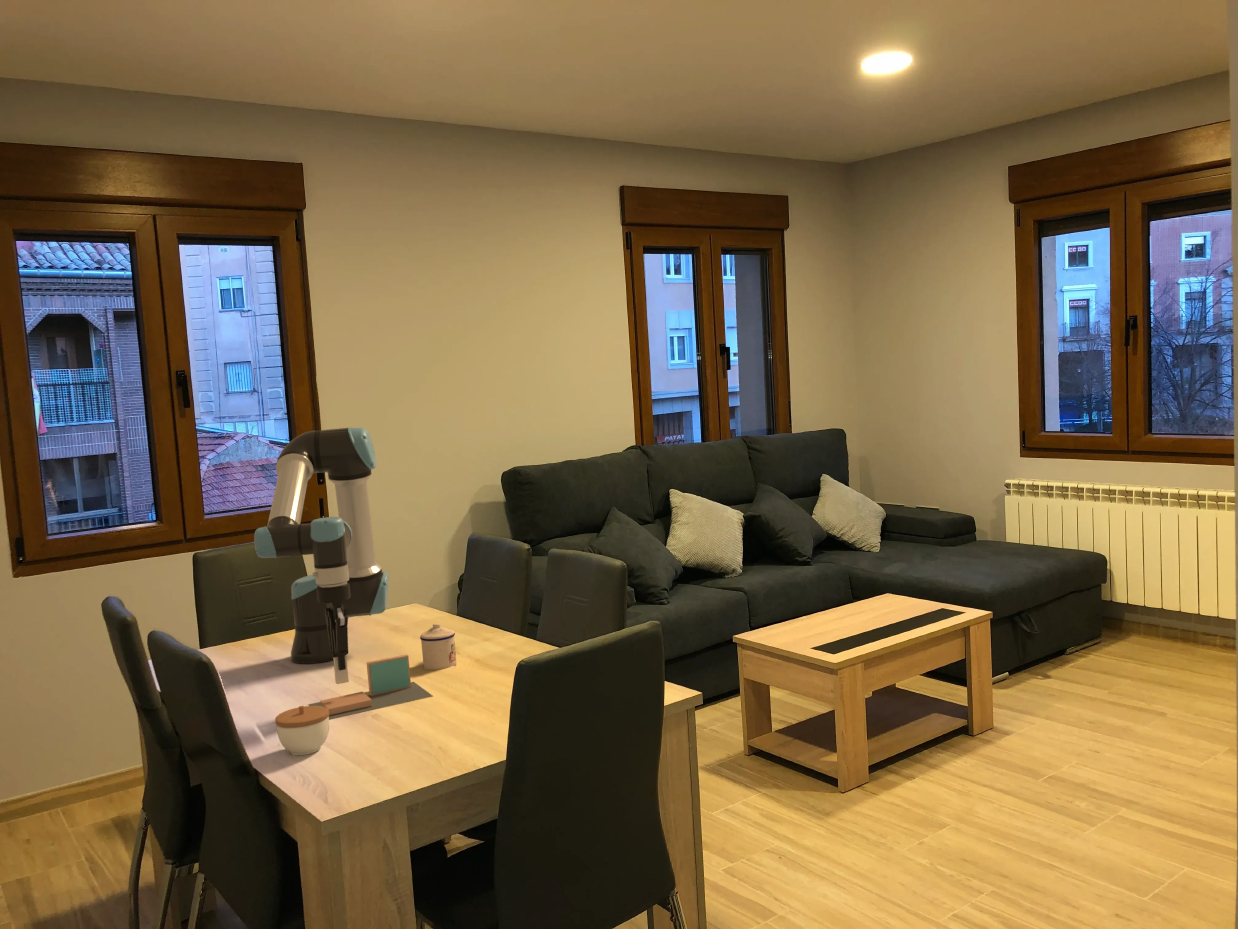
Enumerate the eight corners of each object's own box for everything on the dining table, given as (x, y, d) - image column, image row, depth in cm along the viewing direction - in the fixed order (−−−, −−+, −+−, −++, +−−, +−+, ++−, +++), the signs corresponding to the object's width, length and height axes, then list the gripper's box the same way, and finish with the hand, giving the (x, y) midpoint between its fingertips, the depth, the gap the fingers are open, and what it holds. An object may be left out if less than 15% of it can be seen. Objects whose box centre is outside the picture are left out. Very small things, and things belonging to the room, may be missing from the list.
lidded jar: (285, 743, 214) (281, 700, 213) (336, 738, 215) (332, 696, 214) (272, 762, 203) (268, 717, 202) (326, 757, 204) (322, 712, 203)
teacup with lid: (457, 669, 261) (454, 625, 260) (422, 673, 259) (418, 629, 258) (457, 657, 273) (453, 615, 272) (423, 661, 271) (419, 619, 270)
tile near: (320, 700, 235) (328, 709, 228) (362, 691, 240) (371, 699, 233) (320, 707, 235) (329, 716, 228) (363, 698, 240) (372, 706, 233)
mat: (308, 706, 238) (308, 704, 238) (413, 684, 251) (413, 681, 250) (323, 723, 225) (322, 721, 225) (433, 698, 237) (433, 696, 237)
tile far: (369, 694, 242) (366, 662, 242) (409, 686, 247) (406, 654, 246) (371, 696, 241) (368, 663, 240) (411, 687, 246) (408, 655, 245)
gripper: (310, 582, 237) (319, 679, 239) (323, 590, 226) (332, 692, 228) (341, 577, 241) (350, 673, 243) (356, 585, 229) (365, 685, 231)
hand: (342, 682), depth 235 cm, fingers closed
